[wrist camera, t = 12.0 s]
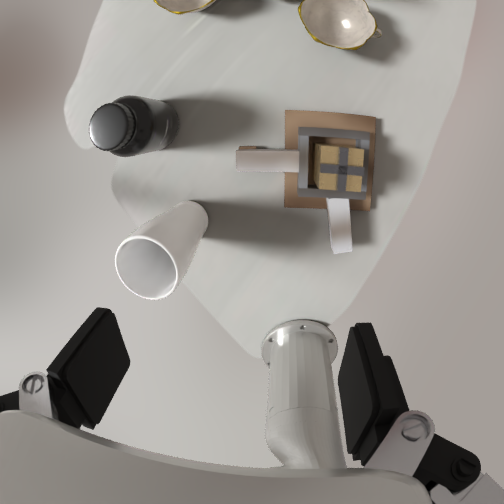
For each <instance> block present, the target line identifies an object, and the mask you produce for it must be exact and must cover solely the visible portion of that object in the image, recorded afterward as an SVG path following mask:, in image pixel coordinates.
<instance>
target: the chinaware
mask: <svg viewBox="0 0 504 504" xmlns="http://www.w3.org/2000/svg"><path fill="white" fill-rule="evenodd" d="M214 1H216V0H154V2H155V3H157V5H159V6H160V7H162V8H164V9H166V10H168V11H170V12H172V13H175V14H178V15H181V14H184V13H193V12H198V11H201V10H203V9H205V8H207V7H209V6H210V5H211V4H213V3H214ZM298 12H299V16H300V18H301V20H302V22H303V24H304V25H305V28H306V30H307V31H308V33H309V34H310V35H311V37H312V38H313V40H315V41H316V42H318V43H322V44H324V45H327V46H331V47H336V48H340V49H346V50H357V49H359V48H360V47H362V46H363V45H364V44H365V43H366V42H367V40H368V39H369V38H370V37H371V38H379V37H381V36H382V31H381V30H380V29H378V28H377V24H376V20H375V18H374V17H373V15H372V14H371V13H369V9H368V6H367V3H366V2H365V1H364V0H303V1H302V2H301V4H300V6H299V7H298ZM375 31H377V32H378V33H379V34H377V35H373V34H374V33H375Z"/></svg>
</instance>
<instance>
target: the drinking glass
mask: <svg viewBox="0 0 504 504" xmlns="http://www.w3.org/2000/svg"><path fill="white" fill-rule="evenodd" d="M207 227H208V216H207V213H206V211H205V209H204V208H203V207H202V206H201V205H200V204H198V203H196V202H193V201H183V202H180V203H178V204H177V205H176V206H174V207H173V208H171V209H169V210H167V211H166V212H164V213H162V214H160V215H158V216H157V217H155V218H153V219H151V220H149V221H148V222H146V223H144V224H143V225H141V226H140V227H138V228H137V229H136V230H135V231H133V232H132V233H131V234H130V235H129V236H128V237H127V238H126V239H125V240H124V241H123V242H122V243H121V244H120V245H119V247H118V249H117V252H116V256H115V265H116V270H117V273H118V276H119V278H120V279H121V281H122V282H123V284H124V285H125V286H126V287H127V288H128V289H129V290H130V291H131V292H133V293H134V294H136V295H138V296H139V297H142V298H145V299H149V300H159V299H163V298H166V297H168V296H169V295H171V294H172V293H173V292H174V290H175V289H176V288H177V286H178V285H179V284H180V282H181V281H182V279H183V278H184V276H185V274H186V273H187V271H188V269H189V267H190V265H191V263H192V260H193V258H194V255H195V253H196V250H197V248H198V246H199V243H200V241H201V239H202V236H203V234H204V233H205V231H206V229H207Z"/></svg>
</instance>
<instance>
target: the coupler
mask: <svg viewBox="0 0 504 504" xmlns="http://www.w3.org/2000/svg"><path fill="white" fill-rule="evenodd" d="M363 160H364V149H360V148H357V147H354V146H350V145H340V144H328V143H315V142H314V147H313V171H312V179H313V180H314V182H315V184H316V185H317V187H318V188H319V189H325V190H336V191H337V192H346V191H353V192H361V185H362V176H364V169H365V167H363Z"/></svg>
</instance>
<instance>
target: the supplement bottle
mask: <svg viewBox="0 0 504 504" xmlns="http://www.w3.org/2000/svg"><path fill="white" fill-rule="evenodd" d="M89 126H90V127H89V134H90V138H91V140H92V142H93V143H94V145H95V146H96V147H97V148H99V149H101V150H104V151H110V152H111V153H112V154H114V155H117V156H120V157H130V156H135V155H139V154H144V153H148V152H153V151H157V150H161V149H163V148H165V147H167V146H168V145H169V144H170V143H171V142H172V141H173V140H174V138H175V136H176V134H177V131H178V126H179V122H178V117H177V114H176V112H175V110H174V109H173V108H172V107H171V106H170V105H169V104H167V103H165V102H163V101H159V100H154V99H149V98H144V97H139V96H124V97H120V98H118V99H116V100H115V101H113V102H112V103H108V104H104V105H103V106H101V107H100V108H98V109H97V111H95V113H94V114H93V116H92V118H91V120H90V124H89Z"/></svg>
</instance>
